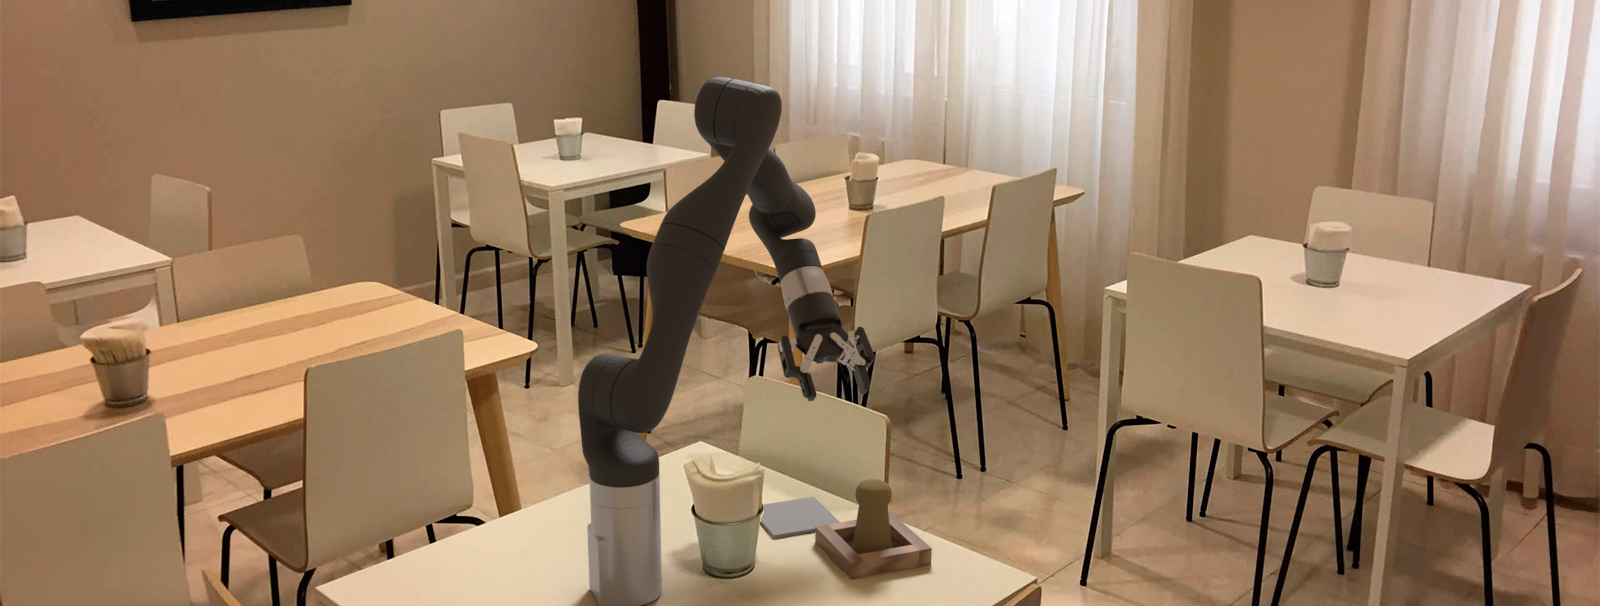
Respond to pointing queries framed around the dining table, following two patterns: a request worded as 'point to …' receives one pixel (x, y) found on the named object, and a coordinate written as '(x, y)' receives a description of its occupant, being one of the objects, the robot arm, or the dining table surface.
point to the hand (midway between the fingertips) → (839, 395)
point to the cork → (872, 517)
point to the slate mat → (795, 517)
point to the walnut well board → (877, 562)
